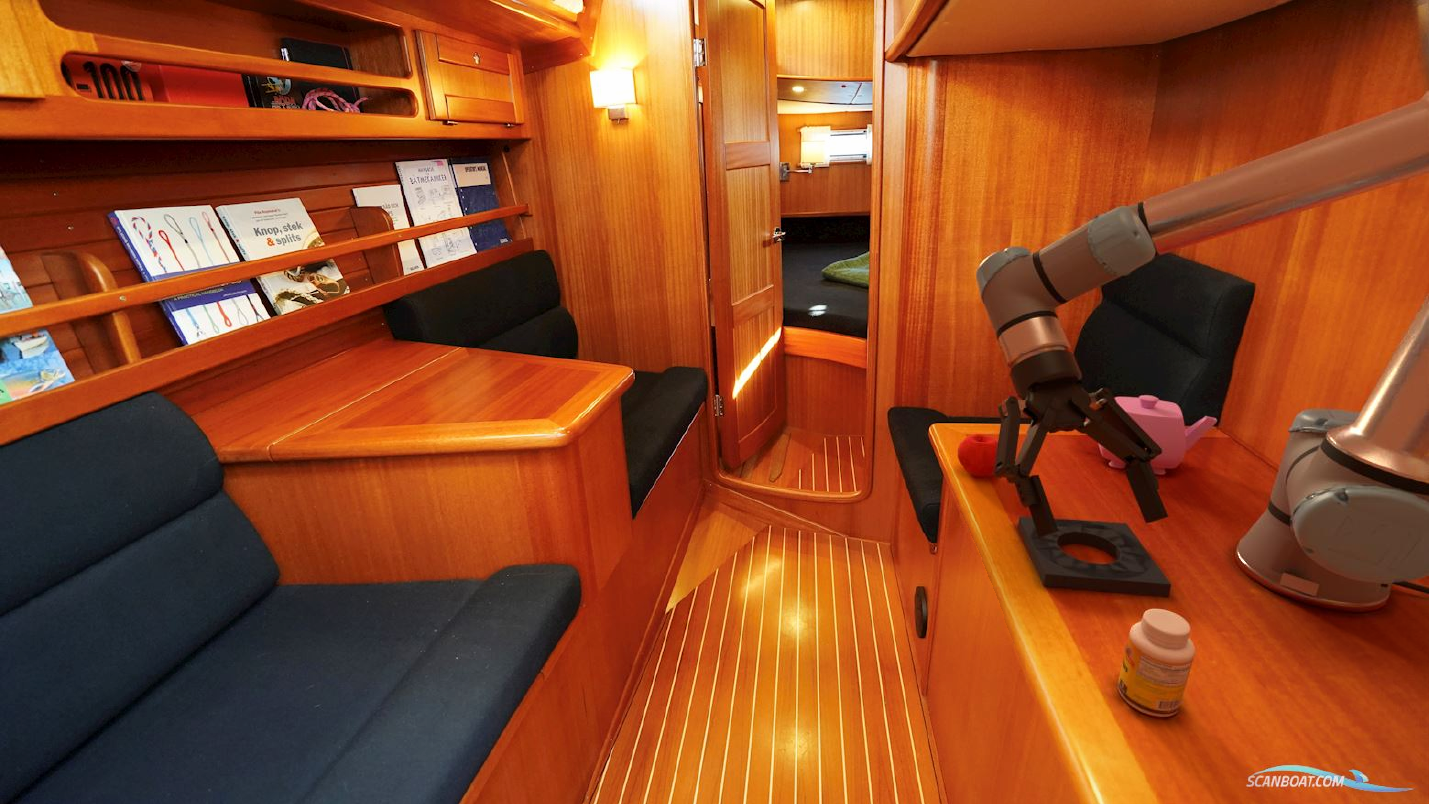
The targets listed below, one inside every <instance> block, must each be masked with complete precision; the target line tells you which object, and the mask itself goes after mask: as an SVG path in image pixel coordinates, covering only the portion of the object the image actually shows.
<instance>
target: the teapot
mask: <svg viewBox="0 0 1429 804" xmlns="http://www.w3.org/2000/svg"><path fill="white" fill-rule="evenodd" d="M1114 398H1115V400H1116V402H1117V403H1118V404H1119V405H1120V406H1121V407H1122V408H1123V409H1124V410H1125V411H1126V412H1127V413H1128V415H1129V416H1130V417H1131V418H1132V419H1133V420H1134V421H1135V422H1136V423H1137V424H1138V425H1139V426H1140V427H1141V428H1142V429H1143V430H1144V431H1145V432H1146V433H1147V434H1148V435H1149V436H1150V437H1151V438H1152V439H1153V440H1154V441H1155V442H1156V443H1157V444H1158V445H1159V446H1160V448H1161V449H1162V454H1160V455H1158V456H1157V457H1155V459H1153V460H1151V462H1150V463H1151V467H1152V469H1153V471H1154V474H1155V475H1161V476H1162V475H1165V474H1166V473H1167V472H1166V470H1165V469H1176V468H1177V467H1178V466H1180V464H1181V463H1182V461H1184V459H1185V454H1186V452H1187V451H1189V450H1190V449H1191V448H1192V447H1193V446H1194V445H1195V444H1196V443H1197V442H1198V441H1199V440H1200V439H1201V438H1202V437H1204V435H1205V434H1206V433H1207V432H1208V431H1209V430H1211V428H1212V427H1213V426H1215V424H1217V422H1218V420H1217V418H1216V417H1212V416H1208V415H1204V417H1203V418H1201V419H1199V420H1198V421H1196V422H1194V423H1193V424H1192V425H1190V426H1189V427H1188V428H1186V426H1185V421H1184V420H1185V419H1184V416H1183V415H1184V414H1183V412H1182V410H1181V407H1180V406H1179V405H1178V404H1177V403H1175V402H1173V401H1172V402H1171V401H1167V400H1160V398H1158V397H1156V396H1154V395H1149V394H1144V395H1139V396H1138V397H1135V396H1134V397H1133V396H1116V397H1114ZM1090 406H1091V405H1090ZM1088 420H1089V419H1087V418H1086V420H1085V422H1086V421H1088ZM1098 447H1099V450H1100V454H1101V456H1102V457H1103V458H1104V459H1106V460H1110V462H1109V463H1108V465H1109V466H1110V467H1112V468H1114V469H1124V468H1126V465H1127V464H1126V463H1124V462H1123V461H1122V460H1120V459H1119V458H1118V457H1116V456H1115V455H1114V454H1112V453H1111V452H1110V451H1108V450H1107V449H1106V448H1104V447H1103V446H1102V445H1100V444H1099V443H1098ZM1145 449H1146V448H1145Z"/></svg>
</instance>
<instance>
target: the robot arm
mask: <svg viewBox="0 0 1429 804" xmlns="http://www.w3.org/2000/svg"><path fill="white" fill-rule="evenodd" d="M1427 174H1429V89H1428V90H1427V91H1426V92H1425V94H1424V95H1423V96H1422V98H1421V99H1419V100H1417V101H1414V102H1411V103H1409V104H1406V105H1403V106H1401V107H1398V108H1395V109H1392V110H1390V111H1386V112H1384V113H1380V114H1378V115H1376V116H1373V117H1370V118H1368V119H1364V120H1362V121H1359V122H1356V123H1353V124H1351V125H1348V126H1345V127H1343V128H1339V129H1337V130H1334V131H1331V132H1329V133H1326V134H1324V135H1320V136H1318V137H1315V138H1312V139H1310V140H1307V141H1304V142H1300V143H1298V144H1295V145H1293V146H1290V147H1288V148H1285V149H1282V150H1279V151H1275V152H1273V153H1271V154H1268V155H1264V156H1262V157H1259V158H1257V159H1254V160H1251V161H1248V162H1246V163H1243V164H1240V165H1237V166H1234V167H1232V168H1229V169H1226V170H1224V171H1221V172H1219V173H1218V172H1217V173H1216V174H1213V175H1210V176H1206V177H1204V178H1202V179H1199V180H1196V181H1194V182H1190V183H1188V184H1185V185H1182V186H1179V187H1177V188H1174V189H1171V190H1168V191H1165V192H1163V193H1161V194H1158V195H1154V196H1152V197H1149V198H1146V199H1144V200H1142V201H1139V202H1137V203H1133V204H1130V205H1121V206H1117V207H1115V208H1113V209H1112V210H1110V211H1107V212H1104V213H1101V214H1099V215H1096V216H1094V217H1092V218H1091V219H1089V220H1088V221H1087V222H1085V224H1083V225H1081V226H1080V227H1078V228H1076V229H1074V230H1072V231H1071V232H1069V233H1067V234H1066V235H1064V236H1062V237H1061V238H1059V239H1057V240H1055V241H1053V242H1052V243H1051V244H1049V245H1047V246H1045V247H1044V248H1042V249H1039V250H1038V251H1036V252H1035V251H1034V252H1033V253H1032V252H1031V250H1030V249H1028V248H1026V247H1024V246H1009V247H1007V248H1005V249H1003V250H1001V251H1000V250H998V251H995V252H993V253H991V254H990V255H988V256H986V258H985V259H983V260H982V262H981V263H980V264H979V265H978V267H977V269H976V272H975V279H976V282H977V285H978V286H977V287H978V290H979V293H980V299H981V302H982V304H983V305H984V308H985V310H986V313H987V315H988V316H987V317H988V318H989V321H990V324H991V327H992V328H993V332H994V334H995V337H996V339H997V342H998V346H999V348H1000V351H1001V354H1002V356H1003V357H1002V358H1003V360H1004V362H1005V364H1006V368H1007V369H1009V370H1010V372H1009V377H1010V379H1011V382H1012V386H1013V388H1014V390H1015V393H1016V395H1017V397H1018V398H1019V399H1018V398H1017V397H1016V396H1014V395H1011V396H1008V397H1007V398H1006V399H1004V401H1002V402H1001V403H1000V404H999V405H998V407H997V409H998V414H999V417H1000V426H999V433H998V439H997V441H998V446H997V453H996V460H995V466H994V473H993V475H994V476H995V478H997V479H1002V478H1004V479H1006V481H1007V482H1008V483H1009V484H1011V485H1014V487H1015V489H1016V492H1017V495H1018V499H1019V501H1020V504H1021V506H1022V507H1023V508H1024V509H1025V508H1026V509H1027V508H1028V510H1029V513H1030V515H1031V516H1030V517H1032V519H1033V522H1034V525H1035V528H1036V531H1037V533H1038V536H1039V537H1045V536H1047V535H1050V534H1053V533H1055V532H1058V528H1057V525H1056V522H1055V519H1056V518H1055V517H1054V514H1053V511H1052V509H1051V505H1050V503H1049V500H1048V497H1047V495H1046V492H1045V489H1044V486H1043V484H1042V480H1041V478H1040V475H1039V474H1032V475H1031V476H1030V474H1031V473H1032V471H1033V468H1034V466H1035V463H1036V461H1037V458H1038V455H1040V451H1041V449H1042V446H1043V444H1044V442H1045V440H1046V437H1047V435H1048V434H1056V433H1058V432H1065V433H1066V432H1068V433H1069V432H1073V431H1077V432H1078V433H1080V434H1082V435H1087V437H1090V438H1091V439H1092V440H1093V441H1094V442H1096V443H1099V444H1100V445H1102V446H1103V447H1104V448H1106V449H1107V450H1108V451H1110V452H1111V453H1112V454H1114V455H1115V456H1116V457H1118V458H1119V459H1120V460H1122V461H1123V462H1124V463H1126V465H1127V466H1128V467H1127V468H1125V469H1123V472H1124V474H1125V477H1126V479H1127V481H1128V483H1129V486H1130V488H1131V491H1132V494H1133V495H1134V499H1135V501H1136V503H1137V506H1138V508H1139V510H1140V512H1141V513H1140V514H1141V515H1142V519H1143V520H1144V522H1145V524H1150V523H1154V522H1157V521H1160V520H1163V519H1167V518H1169V517H1170V516H1169V514H1168V512H1167V509H1166V507H1165V505H1164V503H1163V500H1162V498H1161V495H1160V493H1159V491H1158V490H1160V483H1159V480H1158V478H1157V476H1156V474H1155V473H1154V471H1153V469H1152V467H1151V463H1150V462H1151V460H1153V459H1155V457H1157V456H1158V455H1160V454H1162V449H1161V448H1160V446H1159V445H1158V444H1157V443H1156V442H1155V441H1154V440H1153V439H1152V438H1151V437H1150V436H1149V435H1148V434H1147V433H1146V432H1145V431H1144V430H1143V429H1142V428H1141V427H1140V426H1139V425H1138V424H1137V423H1136V422H1135V421H1134V420H1133V419H1132V418H1131V417H1130V416H1129V415H1128V413H1127V412H1126V411H1125V410H1124V409H1123V408H1122V407H1121V406H1120V405H1119V404H1118V403H1117V402H1116V400H1115V398H1116V397H1115V396H1114V395H1113V392H1112V391H1111V389H1110V388H1108V387H1106V386H1103V387H1102V388H1100V389H1099V390H1097V391H1095V392H1090V393H1088V392H1087V391H1086V390H1085V389H1084V388H1083V385H1082V379H1083V374H1082V372H1081V370H1080V367H1079V364H1078V362H1077V359H1076V357H1075V355H1074V353H1073V352H1072V351H1070V349H1071V344H1070V341H1069V340H1068V338H1067V335H1066V333H1065V331H1064V328H1063V325H1062V323H1061V321H1060V318H1059V316H1058V314H1057V310H1056V308H1058V307H1060V306H1062V305H1064V304H1067V303H1069V302H1070V301H1072V300H1074V299H1076V298H1078V297H1080V296H1083V295H1085V294H1088V293H1089V292H1091V291H1093V290H1096V289H1097V288H1099V287H1100V288H1101V287H1102V286H1104V285H1106V284H1107V283H1110V282H1112V281H1114V280H1116V279H1118V278H1121V277H1122V276H1123V277H1125V276H1128V275H1130V274H1131V273H1132V272H1133V271H1135V270H1136V269H1138V268H1140V267H1142V266H1144V265H1146V264H1148V263H1149V262H1151V261H1152V260H1153V259H1154V258H1155V257H1158V256H1161V255H1164V254H1167V253H1171V252H1174V251H1177V250H1178V251H1179V250H1180V249H1184V248H1186V247H1191V246H1195V245H1196V244H1197V245H1198V244H1201V243H1204V242H1207V241H1210V240H1213V239H1217V238H1220V237H1223V236H1226V235H1229V234H1233V233H1236V232H1239V231H1240V232H1241V231H1243V230H1247V229H1249V228H1253V227H1257V226H1260V225H1262V224H1267V223H1269V222H1273V221H1277V220H1279V219H1282V218H1286V217H1288V216H1292V215H1296V214H1298V213H1302V212H1306V211H1308V210H1312V209H1316V208H1319V207H1322V206H1325V205H1328V204H1331V203H1335V202H1339V201H1341V200H1346V199H1348V198H1352V197H1356V196H1357V195H1361V194H1364V193H1367V192H1370V191H1371V192H1372V191H1374V190H1378V189H1381V188H1384V187H1388V186H1391V185H1394V184H1397V183H1401V182H1404V181H1407V180H1410V179H1414V178H1417V177H1420V176H1425V175H1427ZM1090 405H1091V406H1090ZM1023 414H1024V415H1026V416H1027V417H1028V418H1029V419H1030V420H1031V422H1030V424H1029V426H1028V428H1027V431H1026V436H1025V439H1024V441H1023V443H1022V446H1021V448H1020V450H1019V452H1018V455H1017V451H1018V443H1019V435H1020V427H1021V419H1022V415H1023ZM1086 418H1087V419H1089V420H1088V421H1086V422H1085V420H1086ZM1287 432H1288V433H1289V434H1288V438H1287V440H1286V441H1287V442H1286V445H1285V448H1284V451H1283V455H1282V457H1281V458H1282V459H1281V461H1280V464H1279V467H1278V470H1277V474H1276V477H1275V481H1274V484H1273V487H1272V491H1271V493H1270V497H1269V500H1268V503H1267V507H1266V510H1265V511H1264V512H1263V513H1262V514H1261V516H1260V517H1259V518H1258V519H1257V520H1256V522H1255V523H1254V524H1253V525H1252V526H1251V528H1249V530H1248V532H1246V534H1244V535H1243V536H1242V537H1241V539H1240V540H1239V542H1238V544H1237V546H1236V549H1235V554H1234V559H1235V562H1236V564H1237V566H1238V567H1239V568H1240V569H1241V570H1242V572H1244V573H1245V574H1246V575H1247V576H1248V577H1250V578H1251V579H1253V581H1256V582H1257V583H1258V584H1260V585H1261V586H1263V587H1266V588H1267V589H1268V590H1271V591H1273V592H1275V593H1277V594H1279V595H1282V596H1284V597H1286V598H1290V599H1292V600H1294V601H1297V602H1300V603H1303V604H1306V605H1311V606H1315V607H1318V608H1321V609H1327V610H1333V611H1338V612H1349V613H1363V612H1365V613H1366V612H1372V611H1376V610H1379V609H1381V608H1382V607H1384V606H1385V605H1386V603H1387V602H1388V599H1389V596H1390V594H1391V588H1392V585H1395V586H1397V587H1402V588H1406V589H1409V590H1413V591H1417V592H1420V593H1422V594H1423V593H1424V594H1427V595H1429V587H1428V586H1425V585H1421V584H1418V583H1413V581H1417V580H1420V579H1424V578H1426V577H1429V292H1428V293H1427V295H1426V297H1425V299H1424V301H1423V302H1422V303H1421V306H1420V307H1419V309H1418V311H1417V313H1416V314H1415V316H1414V317H1413V320H1412V321H1411V323H1410V324H1409V326H1408V328H1407V330H1406V332H1405V333H1404V335H1403V337H1402V339H1401V341H1400V343H1399V344H1398V346H1397V347H1396V349H1395V351H1394V353H1393V354H1392V356H1391V358H1390V360H1389V362H1387V365H1386V367H1385V368H1384V370H1383V371H1382V374H1381V376H1380V377H1379V379H1378V380H1377V383H1375V386H1374V387H1373V389H1372V391H1371V393H1370V394H1369V396H1368V398H1367V400H1366V402H1365V403H1364V405H1363V407H1362V409H1361V410H1360V412H1359V411H1352V410H1345V409H1336V408H1335V409H1334V408H1333V409H1332V408H1310V409H1305V410H1302V411H1300V412H1299V413H1297V414H1296V416H1295V418H1294V419H1293V422H1292V425H1291V427H1289V428H1288V431H1287ZM1099 444H1098V445H1099ZM1145 448H1146V449H1145ZM1016 456H1017V457H1016Z"/></svg>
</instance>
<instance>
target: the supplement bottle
mask: <svg viewBox="0 0 1429 804" xmlns="http://www.w3.org/2000/svg"><path fill="white" fill-rule="evenodd" d="M1190 633H1191V625H1190V623H1189V622H1188V621H1187V620H1186V619H1185V618H1184V617H1182V616H1181V615H1179V614H1178V613H1175V612H1172V611H1171V610H1168V609H1167V610H1166V609H1164V608H1163V609H1162V608H1150V609H1147V610H1145V612H1143V616H1142V619H1141V620H1140V621H1138V622H1135V623H1134V624H1133V625H1132V626H1131V627H1130V630H1129V634H1128V637H1127V643H1126V646H1125V651H1124V654H1123V660H1122V665H1121V667H1120V673H1119V675H1118V682H1117V689H1118V692H1119V694H1120V696H1121V697H1122V699H1123V700H1124V701H1125V702H1126V703H1127V704H1128V705H1129V706H1130V707H1132V708H1133V709H1135V710H1137V711H1138V712H1140V713H1143V714H1146V715H1148V716H1152V717H1155V718H1167V717H1171V716H1173V715H1174V716H1175V714H1177V713H1178V712H1179V710H1180V707H1181V704H1182V700H1183V697H1184V693H1185V690H1186V687H1187V683H1188V679H1189V676H1190V673H1191V669H1192V665H1193V663H1194V662H1193V661H1194V658H1195V656H1196V655H1195V654H1196V647H1195V645H1194V642H1193V641H1192V639H1191V638H1190Z"/></svg>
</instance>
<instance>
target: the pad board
mask: <svg viewBox="0 0 1429 804" xmlns="http://www.w3.org/2000/svg"><path fill="white" fill-rule="evenodd" d="M1054 519H1055V522H1056V525H1057V528H1058V532H1055V533H1053V534H1050V535H1047V536H1045V537H1039V536H1038V533H1037V531H1036V528H1035V525H1034V522H1033V519H1032V516H1022V515H1020V516H1019V517H1018V521H1017V522H1018V523H1017V529H1018V531H1019V533H1020V535H1021V536H1020V537H1021V538H1022V540H1023V543H1024V545H1025V548H1026V550H1027V552H1028V554H1029V556H1030V559H1031V561H1032V563H1033V565H1034V568H1035V570H1036V572H1037V574H1038V576H1039V579H1040V581H1041V584H1042V586H1043V588H1045V587H1047V588H1056V589H1071V590H1080V591H1081V590H1082V591H1094V592H1104V593H1115V594H1116V593H1117V594H1128V595H1129V594H1130V595H1139V596H1152V597H1161V598H1162V597H1164V598H1168V597H1169V596H1170V593H1171V588H1172V583H1171V582H1170V580H1169V578H1167V576H1166V575H1165V574H1164V572H1163V571H1162V569H1161V568H1160V567H1159V565H1158V564H1157V563H1156V561H1155V560H1154V558H1153V557H1152V556H1151V555H1150V553H1149V552H1148V551H1147V549H1146V548H1145V546H1144V545H1143V544H1142V542H1141V541H1140V540H1139V538H1138V536H1137V535H1135V533H1134V531H1133V530H1132V529H1131V528H1130V526H1129V524H1127V522H1112V521H1099V520H1086V519H1085V520H1082V519H1069V518H1068V519H1067V518H1054ZM1071 544H1075V545H1076V544H1077V545H1085V546H1089V547H1093V548H1096V549H1099V550H1101V551H1103V552H1105V553H1107V554H1108V555H1109V556H1111V557H1112V558H1113V559H1114V560H1115V561H1114V562H1107V563H1099V562H1090V561H1087V560H1086V561H1085V560H1082V559H1078V558H1076V557H1074V556H1072V555H1070V554H1068V553H1067V552H1065V550H1063V549H1062V548H1061V546H1063V545H1071ZM1169 598H1170V597H1169Z"/></svg>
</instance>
